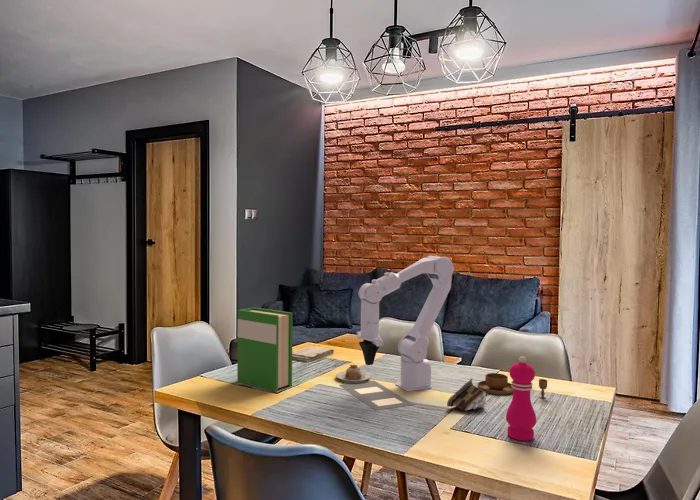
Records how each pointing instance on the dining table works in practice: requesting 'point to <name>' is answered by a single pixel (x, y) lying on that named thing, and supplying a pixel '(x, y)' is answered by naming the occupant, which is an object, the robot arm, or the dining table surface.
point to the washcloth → (311, 354)
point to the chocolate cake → (468, 397)
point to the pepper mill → (521, 402)
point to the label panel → (376, 395)
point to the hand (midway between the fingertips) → (369, 364)
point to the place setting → (503, 385)
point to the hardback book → (265, 348)
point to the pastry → (353, 375)
